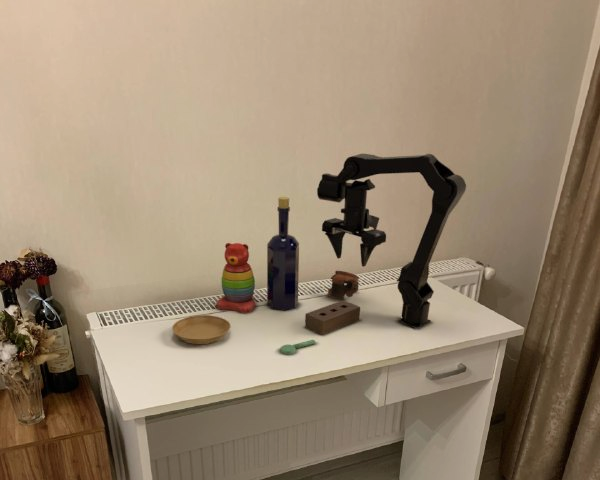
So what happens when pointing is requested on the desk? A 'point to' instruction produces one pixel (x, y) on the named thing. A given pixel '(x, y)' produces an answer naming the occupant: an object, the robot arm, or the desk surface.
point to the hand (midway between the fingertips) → (351, 262)
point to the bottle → (282, 264)
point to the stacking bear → (237, 280)
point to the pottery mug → (339, 287)
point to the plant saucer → (201, 329)
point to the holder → (332, 317)
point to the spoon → (291, 348)
